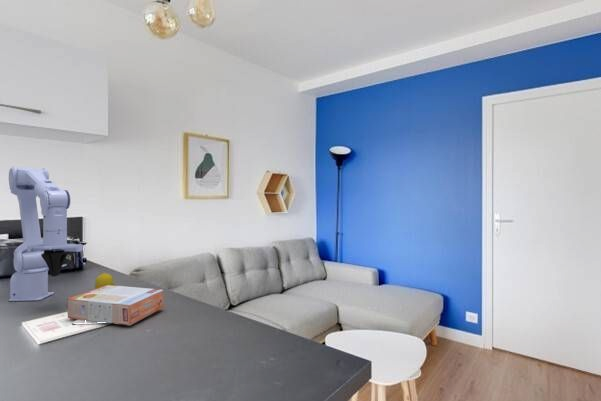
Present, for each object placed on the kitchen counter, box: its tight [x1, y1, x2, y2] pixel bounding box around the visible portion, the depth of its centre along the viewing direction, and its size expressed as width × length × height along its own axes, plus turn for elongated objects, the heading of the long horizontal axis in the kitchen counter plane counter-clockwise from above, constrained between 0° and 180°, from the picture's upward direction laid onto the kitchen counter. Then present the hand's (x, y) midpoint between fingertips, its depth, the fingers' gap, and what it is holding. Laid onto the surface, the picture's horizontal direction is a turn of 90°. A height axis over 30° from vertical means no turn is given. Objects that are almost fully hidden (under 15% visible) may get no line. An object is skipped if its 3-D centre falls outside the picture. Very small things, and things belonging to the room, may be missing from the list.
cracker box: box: [67, 285, 164, 326], centre depth 97 cm, size 14×6×21 cm
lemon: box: [94, 272, 115, 289], centre depth 115 cm, size 6×6×8 cm
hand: (55, 275), depth 101 cm, fingers closed
